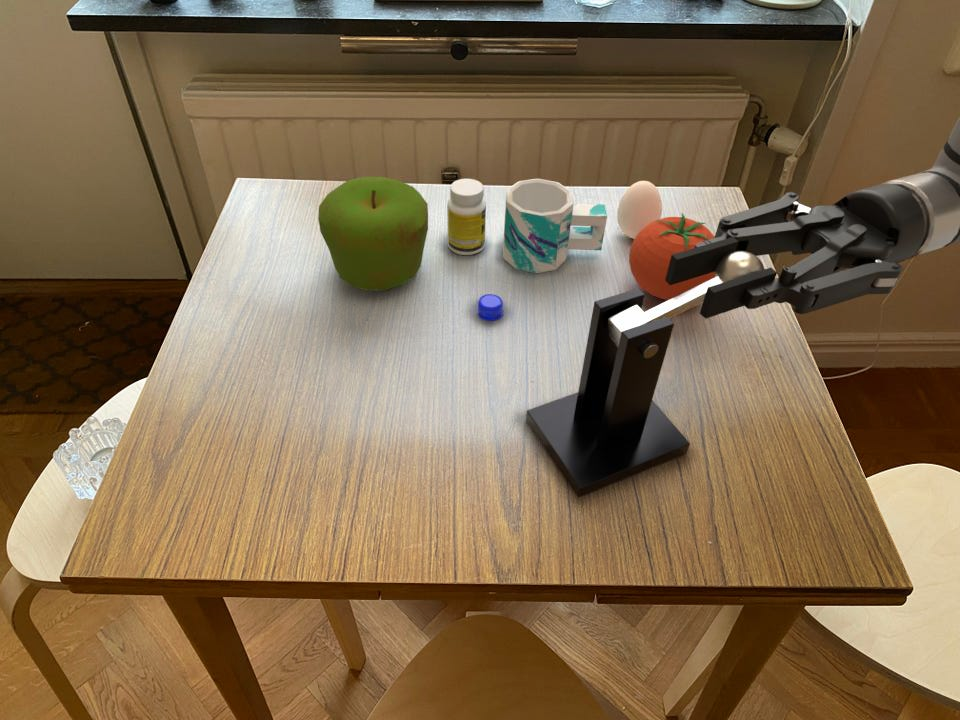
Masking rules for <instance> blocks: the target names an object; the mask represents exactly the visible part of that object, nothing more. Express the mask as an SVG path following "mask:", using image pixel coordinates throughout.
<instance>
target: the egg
mask: <svg viewBox="0 0 960 720" xmlns="http://www.w3.org/2000/svg"><path fill="white" fill-rule="evenodd" d="M658 189H659V188H657V186H656V185H655V184H654V183H652V182H650V181H648V180H639V181H637V182H634V183H632V184H631V185H630V186H629V187H628V188H627V189H626V191H625V192H624V193H623V194H622V196H621V198H620V200H619V203H618V207H617V210H616V220H617V224H618V227H619V229H620V230H621V232H622V233H623V234H624V235H625V236H626V237H628V238H630V239H632V240H634V239H635V237H636V236H637V234H638V233H639V232H640V231H641V230H642V229H643V228H644V227H645V226H646V225H648V224H649V223H651V222H654V221H655V220H659V219H662V214H663V213H662V212H663V202H662V198H661V194H660V191H659V190H658Z"/></svg>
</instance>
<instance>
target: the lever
mask: <svg viewBox="0 0 960 720" xmlns="http://www.w3.org/2000/svg"><path fill="white" fill-rule="evenodd" d="M764 269H765V267H764V264H763V262H762V260H761V259H760V258H759V256H755V255H754V254H752V253H750V252H746V251H735V252H732V253H729V254H727V255H726V256H724V257H723V258H722V259H721V260H720V262H719V263H718V265H717V267H716V270H715V277H714V278H712V279H710V280H708V281H706V282H704V283H702V284H700V285H698V286H696V287H694V288H692V289H690V290H688V291H686V292H684V293H682V294H680V295H678V296H676V297H674V298H672V299H670V300H665V301H663V302H661V303H660V304H658V305H656V306H654V307H652V308H649V309H648V310H645V311H644V310H643V308H642V309H641V308H640V307H639V306H638V305H634V306H632V307H630V308H628V309H626V310H624V311H622V312H620V313H618V314H616V315H614V316H612V317H610V318H608V328H609V338H610V339H611V340H612V341H613V343H614V344H615V345H616V346H617V347H618V346H619V341H620V337H621V332H622V331H625V330H628V329H631V328H634V327H637V326H640V325H643V324H646V323H649V322H652V321H655V320H658V319H661V318H664V317H668V318H669V319H670V320H671V319H673V318H675V317H676V316H678V315H680V314H682V313H684V312H687V311H688V310H691V309H692V308H694V307H696V306H698V305H700V304H703V301H704V298H705V295H706V292H707V288H708V287H711V286H714V285H717V284H720V283H723V282H726V281H730V280H733V279H736V278H739V277H742V276H745V275H749V274H752V273H755V272H758V271H761V270H764Z"/></svg>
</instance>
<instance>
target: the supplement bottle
mask: <svg viewBox="0 0 960 720" xmlns="http://www.w3.org/2000/svg"><path fill="white" fill-rule="evenodd" d="M484 189H485V188H484V185H483V183H482V182H480V181H478V180H477V179H475V178H474V179H473V178H460V179H457V180H455V181H453V182H452V183H451V184H450V187H449V190H450V191H449V199H448V200H447V205H446V207H447V208H446V209H447V210H446V212H447V213H446V217H447V220H446V222H447V224H446V225H447V246H448V248H449V249H450V250H451V251H452V252H453V253H454V254H458V255H461V256H471V255H475V254H478V253H479V252H481V251H482V250H484V247H485V243H486V242H485V241H486V216H487V215H486V214H487V213H486V212H487V203H486V200H485V199H484V196H485V193H484V192H485V191H484Z"/></svg>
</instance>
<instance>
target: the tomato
mask: <svg viewBox="0 0 960 720" xmlns="http://www.w3.org/2000/svg"><path fill="white" fill-rule="evenodd" d="M705 224H706V222H700V221H696V220H695V219H692V218H691V219H690V218H687V217H686V216H685V215H684V213H683V212H681V216H666V217H661V218H660V219H659V220H655V221H654V222H651V223H649V224H648V225H646V226H645V227H644V228H643V229H642V230H641V231H640V232H639V233H638V234H637V236H636V237H635V239H633V241H632V242H631V246H630V249H629V256H628V257H629V259H628V262H629V267H630V268H629V269H630V272H631V274H632V276H633V278H634V280H635V282H636V283H637V284H638V285H639V287H641V288H642V290H644V291H645V292H646V293H648V294H650V295H651V296H652V297H655V298H658V299H662V300H664V301H668V300H670V299H672V298H674V297H676V296H678V295H680V294H682V293H684V292H686V291H688V290H690V289H692V288H694V287H696V286H698V285H700V284H702V283H704V282H706V281H708V280H710V279H712V278H714V277H715V272H712V273H709V274H706V275H702V276H699V277H696V278H693V279H689V280H686V281H683V282H680V283H676V284H673V285H669V284H668V283H667V282H666V281H665V278H666V274H667V271H668V267H669V263H670V259H671V255H673V254H676V253H680V252H683V251H686V250H690V249H693V248H695V245H696V244H698V243H700V242H704V241H708V240H710V239H713V238H714V237H715V234H714V233H712V231H711V230H710V229H709V228H707V226H705Z"/></svg>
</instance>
